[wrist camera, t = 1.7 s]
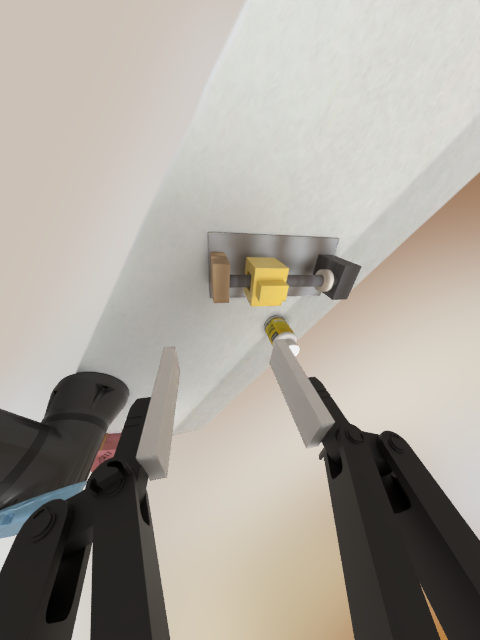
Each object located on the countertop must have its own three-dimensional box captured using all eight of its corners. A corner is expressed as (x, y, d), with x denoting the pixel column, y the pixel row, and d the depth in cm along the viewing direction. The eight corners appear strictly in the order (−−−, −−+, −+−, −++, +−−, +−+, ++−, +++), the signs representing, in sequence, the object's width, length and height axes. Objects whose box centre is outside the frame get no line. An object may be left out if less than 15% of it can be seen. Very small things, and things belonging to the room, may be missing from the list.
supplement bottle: (265, 315, 41) (281, 342, 33) (286, 315, 42) (307, 341, 34) (261, 333, 44) (275, 362, 36) (281, 333, 45) (299, 360, 37)
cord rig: (209, 296, 36) (212, 320, 29) (207, 231, 29) (210, 241, 22) (318, 294, 41) (344, 314, 33) (337, 238, 34) (374, 247, 27)
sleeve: (243, 290, 32) (254, 313, 26) (246, 257, 29) (259, 272, 22) (269, 290, 33) (286, 311, 27) (274, 257, 30) (295, 273, 23)
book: (144, 429, 58) (140, 446, 54) (143, 450, 66) (140, 467, 62) (93, 432, 54) (84, 450, 50) (98, 454, 61) (91, 472, 57)
